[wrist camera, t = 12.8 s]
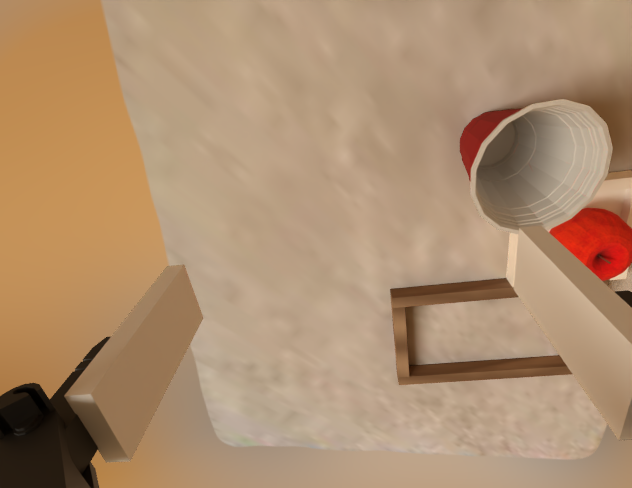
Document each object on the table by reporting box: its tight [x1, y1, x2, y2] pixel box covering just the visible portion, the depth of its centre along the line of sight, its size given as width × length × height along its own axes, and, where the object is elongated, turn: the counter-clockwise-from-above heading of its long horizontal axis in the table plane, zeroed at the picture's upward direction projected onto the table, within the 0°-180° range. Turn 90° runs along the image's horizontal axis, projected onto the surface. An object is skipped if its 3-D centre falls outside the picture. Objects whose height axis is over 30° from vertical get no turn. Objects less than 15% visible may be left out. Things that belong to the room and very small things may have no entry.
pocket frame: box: [390, 278, 610, 385], centre depth 50 cm, size 15×25×2 cm, turn 99°
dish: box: [506, 170, 632, 287], centre depth 43 cm, size 12×12×2 cm
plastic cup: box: [460, 99, 613, 234], centre depth 35 cm, size 11×11×12 cm
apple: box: [549, 208, 632, 281], centre depth 40 cm, size 8×8×7 cm
